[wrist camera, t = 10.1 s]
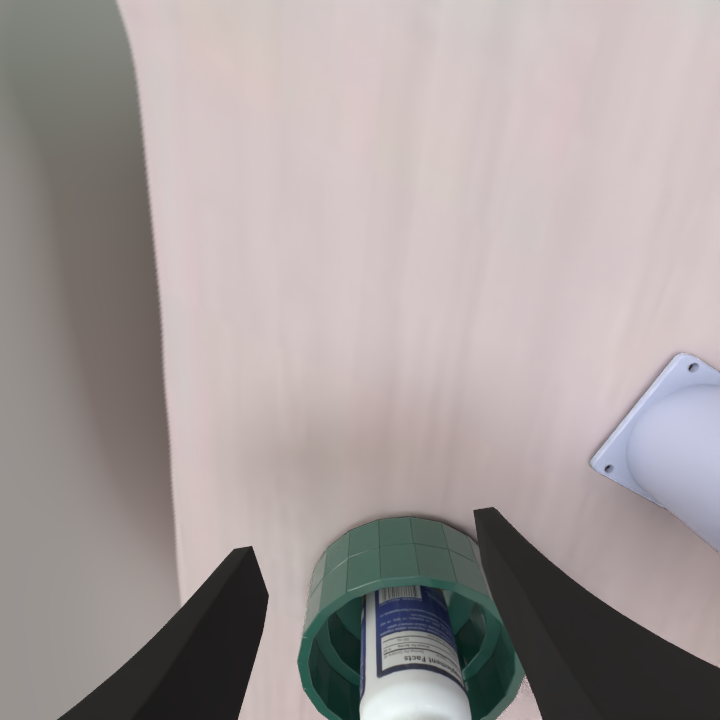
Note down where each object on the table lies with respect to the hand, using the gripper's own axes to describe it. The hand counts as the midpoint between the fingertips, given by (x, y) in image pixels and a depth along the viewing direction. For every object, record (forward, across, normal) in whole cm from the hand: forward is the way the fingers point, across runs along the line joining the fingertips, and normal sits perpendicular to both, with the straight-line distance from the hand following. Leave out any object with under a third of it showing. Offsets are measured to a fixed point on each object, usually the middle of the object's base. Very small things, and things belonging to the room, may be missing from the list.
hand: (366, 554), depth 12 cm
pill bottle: (+10, 0, +13) cm, 16 cm away
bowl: (+10, 0, +13) cm, 16 cm away
